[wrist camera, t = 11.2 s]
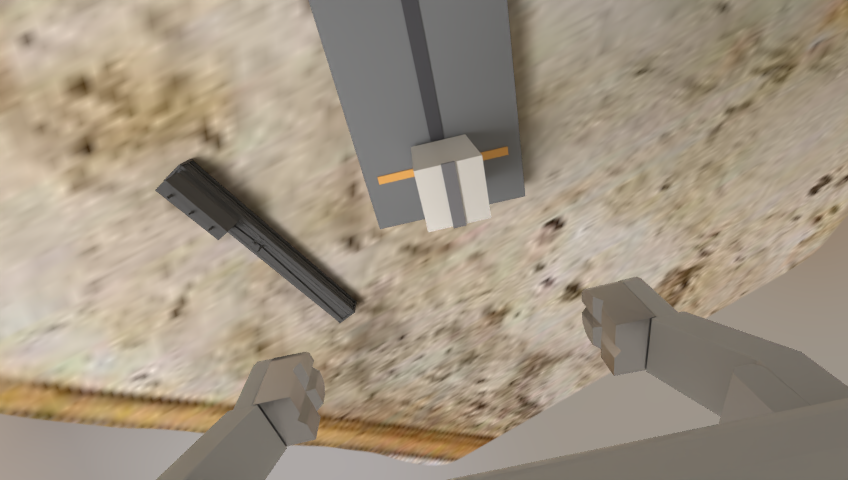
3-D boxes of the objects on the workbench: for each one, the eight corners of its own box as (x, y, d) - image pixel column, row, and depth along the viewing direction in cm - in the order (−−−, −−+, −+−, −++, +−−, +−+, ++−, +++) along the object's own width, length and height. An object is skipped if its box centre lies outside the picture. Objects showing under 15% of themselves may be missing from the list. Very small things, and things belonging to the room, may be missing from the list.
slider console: (280, -113, 21) (266, -134, 19) (479, -169, 21) (489, -198, 18) (381, 216, 31) (380, 229, 29) (516, 185, 31) (525, 196, 28)
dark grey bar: (361, 295, 36) (357, 323, 32) (342, 309, 36) (336, 338, 33) (197, 152, 28) (167, 167, 25) (177, 172, 29) (145, 190, 25)
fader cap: (410, 146, 26) (413, 171, 20) (464, 133, 26) (482, 155, 20) (422, 198, 28) (428, 233, 22) (473, 186, 27) (491, 219, 22)
